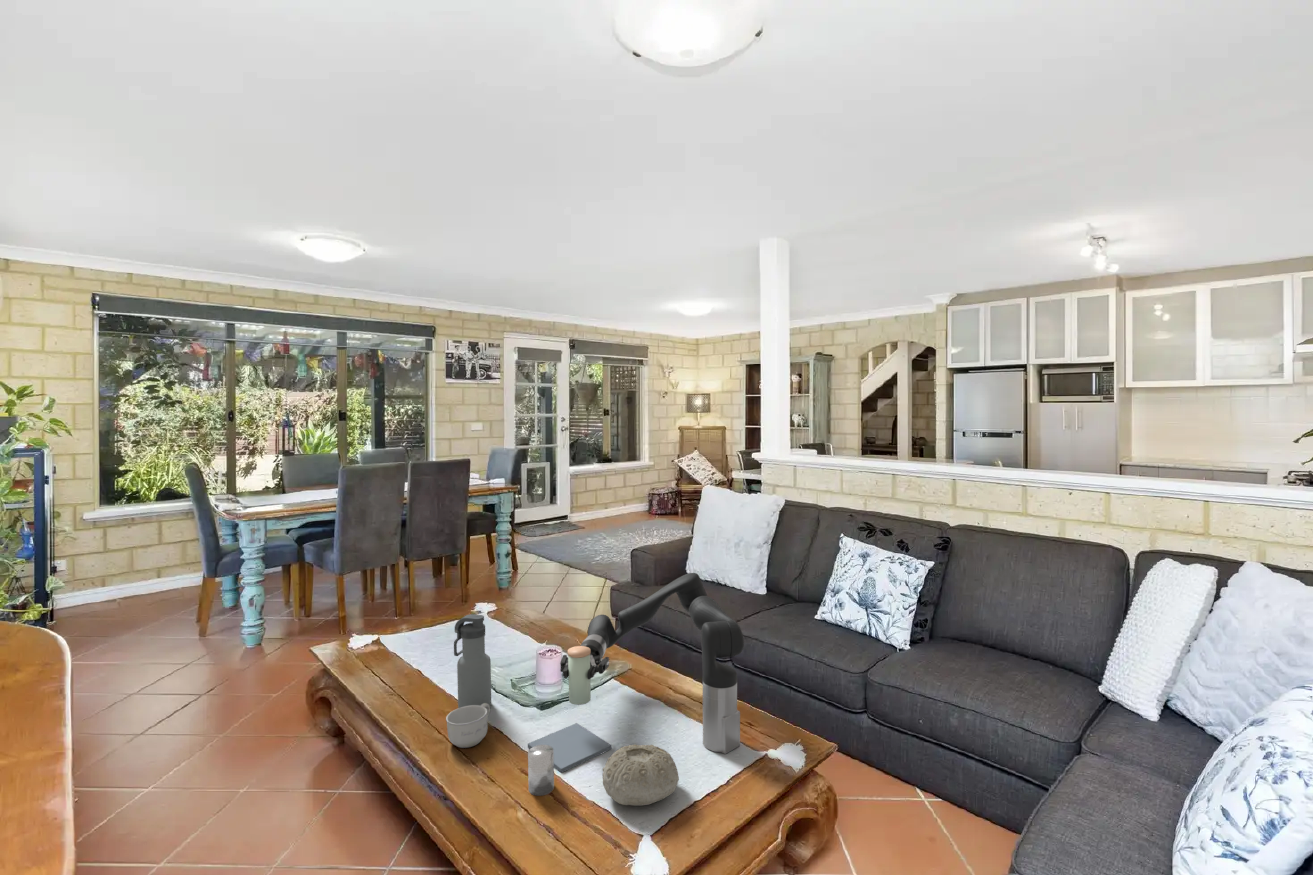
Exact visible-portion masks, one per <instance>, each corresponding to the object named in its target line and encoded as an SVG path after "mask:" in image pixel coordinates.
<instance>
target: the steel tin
mask: <svg viewBox="0 0 1313 875" xmlns="http://www.w3.org/2000/svg"><path fill="white" fill-rule="evenodd" d="M527 764H528V765H527V767H528V768H527V769H528V770H527V773H528V774H527V775H528V777H527V778H528V793H529V794H531V795H533V796H535V797H537V796H539V797H541V796H545V795H546V796H547V795H548V794H550V793H552V792H553V790H554V789H555V768H554V752H553V748H552V747H551V746H549V745H537V746H534V747H532V748H531V749H529V750H528V752H527Z"/></svg>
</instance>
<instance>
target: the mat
mask: <svg viewBox="0 0 1313 875" xmlns="http://www.w3.org/2000/svg"><path fill="white" fill-rule="evenodd" d="M537 745H549V746H551V747H552V748H553V752H554V769H556V771H558V772H560V773H563V772H565V771H567V770H570V769H572V768H573V767H576V766H578V765H581V764H582V763H585V762H587V761H589V760H591V759H593V758H595V757H597V756H600V755H601V753H602V754H603V752H604V753H605V752H607V751H610V750H612V744H611V743H609V742H608V741H606V740H604V738H601V737H600V736H598V735H597V734H595V733H593V732H592V731H590V730H588V729H587V728H585V727H584V726H582V725H580V724H579V723H577V722H575V723H574V724H571V725H569V726H565V727H563V728H562V729H559V730H557V731H554V732H552V733H549V734H548V735H544V736H542V737H540V738H537V739H535V740H533V741H531V742H528V743H527V748H528V749H529V750H530V749H531V748H532V747H534V746H537Z"/></svg>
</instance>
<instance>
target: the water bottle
mask: <svg viewBox="0 0 1313 875" xmlns="http://www.w3.org/2000/svg"><path fill="white" fill-rule="evenodd" d="M484 621H485V615H482V614H471V613H470V614H467V615H465V616H463V617H462V618H460V619H459V620H457V621H456V622H455V625H454V633H455V634H456V639H454V641H453V655H454V656H455V657H458V656H460V655H461V657H459V658H458V660H457V664H456V669H457V670H456V673H457V674H456V675H457V709H458V708H461V707H465V706H470V705H478V706H481V705H482V704H483V703H487V704H489V706H490V707H491V705H492V669H491V666H492V665H491V661H492V660H491V658H490V655H488V654H487V653H486V643H485V638H486V637H485V636H486V625H485V623H484ZM461 639H462V640H461ZM460 640H461V641H462V642H461V643H462V644H461V645H462V649H461V650H460V651H459V652H458V649H457V648H458V647H457V645H458V642H459V641H460Z"/></svg>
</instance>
